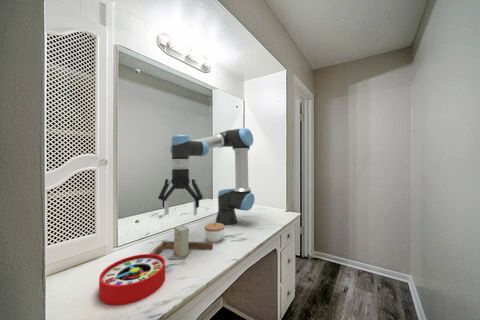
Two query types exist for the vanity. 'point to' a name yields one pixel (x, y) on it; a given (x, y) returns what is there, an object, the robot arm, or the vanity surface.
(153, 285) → the toy clock
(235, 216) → the robot arm
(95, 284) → the vanity surface
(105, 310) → the vanity surface
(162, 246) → the walnut l-shaped corner bracket
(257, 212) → the vanity surface
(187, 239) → the skincare box
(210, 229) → the lidded jar
